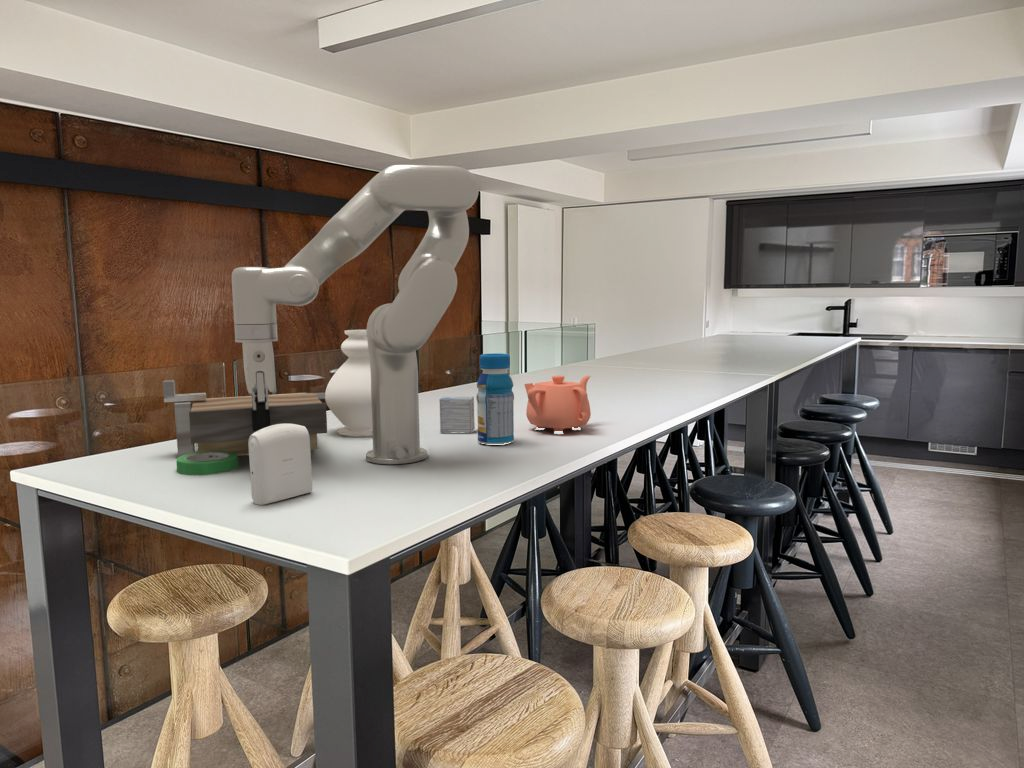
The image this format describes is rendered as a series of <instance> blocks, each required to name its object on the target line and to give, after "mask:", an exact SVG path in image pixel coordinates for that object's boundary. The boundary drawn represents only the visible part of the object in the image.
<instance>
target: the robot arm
mask: <svg viewBox="0 0 1024 768" xmlns="http://www.w3.org/2000/svg"><path fill="white" fill-rule="evenodd" d="M479 192H480V188H479V184H478V181H477V179H476V177H475V176H474V174H473V173H472V172H471V171H470V170H468V169H466V168H464V167H460V166H457V165H430V164H429V165H428V164H427V165H426V164H425V165H424V164H393V165H389V166H387V167H386V168H383V170H381V171H380V172H378V173H376V175H374V176H373V177H372V178H371V179H370V180H369V181H368V182H367V183H366V184H365V185H364V186H363V187H362V188H361V189H360V190H359V191H358V192H357V193H356V194H355V195H354V196H353V197H352V198H351V199H349V201H348V202H347V203H346V204H345V205H343V207H341V208H340V210H339V211H338V212H337V213H335V214H334V215H333V216H332V217H331V218H330V219H329V220H328V221H327V223H325V224H324V225H323V226H322V228H321V229H320V230H319V231H318V233H317V234H316V235H315V236H314V237H313V238H312V239H311V240H310V241H309V242H308V243H307V244H305V246H304V247H303V248H301V249H300V250H299V252H297V254H295V256H294V257H292V258H291V259H290V260H289V261H288V262H287V263H286V264H285V265H284V266H283V267H273V268H272V267H271V268H269V267H264V266H240V267H235V268H234V269H233V271H232V272H231V290H232V292H231V293H232V304H233V305H232V309H233V322H234V325H233V327H234V342H235V343H242V345H241V346H242V359H243V372H244V379H245V384H246V390H247V392H248V395H249V396H252V408H253V409H252V410H251V413H252V429H253V431H258V430H261V429H263V428H265V427H268V426H271V425H270V409H269V408H268V395H269V392H270V393H271V395H276V393H277V385H276V382H277V381H276V368H275V367H276V366H275V355H274V354H275V353H274V347H273V342H278V339H279V338H278V337H279V336H278V322H277V319H278V317H277V305H286V306H294V307H302V306H306V305H308V304H310V303H312V302H313V301H314V300H315V299H316V298H317V296H318V294H319V291H320V290H319V289H320V286H321V285H322V284H324V282H326V280H328V279H329V277H331V276H332V274H334V273H335V272H336V271H338V269H340V268H341V267H342V266H344V265H345V264H347V263H348V262H350V261H352V260H353V259H355V258H357V257H358V256H359V255H361V254H362V253H363V252H364V251H365V250H366V249H367V248H369V246H370V245H371V244H372V243H373V242H374V241H375V240H376V239H377V238H378V237H379V236H380V235H381V234H382V233H383V232H384V231H385V230H386V229H387V228H388V227H389V226H390V225H391V224H392V223H393V222H394V221H395V220H396V219H398V217H399V216H400V215H401V214H402V213H404V211H424V212H427V215H428V221H429V222H428V227H427V229H426V232H425V235H424V236H423V238H422V239H421V242H420V243H419V244H418V245H417V248H416V249H415V251H414V252H413V254H412V255H411V257H410V258H409V260H408V261H407V263H406V264H405V266H404V267H403V268H402V270H401V271H400V274H399V277H398V280H397V286H398V287H397V288H398V293H397V294H396V296H395V298H394V300H393V301H392V302H391V303H385V304H381V305H380V306H378V307H376V308H375V309H374V310H373V311H372V313H371V314H370V315H369V318H368V321H367V324H366V330H367V342H368V350H369V358H370V373H371V404H372V433H373V436H372V449H371V450H368V451H367V452H366V453H365V460H366V461H367V462H370V463H373V464H379V465H399V464H409V463H416V462H419V461H420V462H421V461H423V460H425V459H426V458H428V456H429V455H428V450H427V449H426V448H423V447H421V444H420V443H421V440H420V407H419V406H420V403H419V400H420V399H419V398H420V397H419V370H418V367H419V366H418V358H417V352H416V351H418V350H419V349H420V348H421V347H423V345H425V343H426V342H427V341H428V340H429V338H430V337H431V335H432V334H433V332H434V330H435V329H436V327H437V325H438V324H439V322H440V321H441V319H442V317H443V316H444V314H445V313H446V312H447V309H448V308H449V306H450V305H451V303H452V301H453V299H454V298H455V294H456V292H457V288H458V276H457V272H456V270H455V268H456V267H457V265H458V263H459V261H460V259H461V257H462V255H463V254H464V252H465V249H466V247H467V245H468V243H469V235H470V225H469V219H468V218H469V217H468V213H467V210H469V209H471V207H473V205H474V204H475V203H476V201H477V199H478V198H479V197H478V196H479ZM268 391H269V392H268Z"/></svg>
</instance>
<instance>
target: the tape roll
mask: <svg viewBox="0 0 1024 768" xmlns="http://www.w3.org/2000/svg"><path fill="white" fill-rule="evenodd" d="M238 457H239V456H238V455H237V454H236V453H234V452H230V451H204V452H198V451H197V452H196V451H195V453H190V454H186V455H182V456H180V457H178V456H177V457H176V472H177V473H178V474H180V475H185V476H206V475H214V474H219V473H225V472H229V471H233V470H235V469H237V468H238V467H239V458H238Z"/></svg>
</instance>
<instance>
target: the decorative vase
mask: <svg viewBox="0 0 1024 768" xmlns="http://www.w3.org/2000/svg"><path fill="white" fill-rule="evenodd" d="M343 332H344V335H347V336H348V337H347V338H346V339H344V341H343V342H342V343H341V345H340V350H341V352H342V353H343V354H344V355H345V356H347V357H348V358H347V359H346V360H345V362H343V363H342V365H341V366H339V368H338V369H337V370H336V371H335V373H333V375H332V377H331V379H330V380H329V382H328V383H327V385H326V389H325V393H324V399H325V403H326V407H328V409H329V410H330V412H331V413H332V414H333V415H334V416H335V418H337V420H338V421H339V422H340V423H341V424H342V425H343V426H344V427H341V428H339V429H338V430H337V434H338V435H340V436H343V437H351V438H352V437H353V438H354V437H355V438H359V437H360V438H361V437H362V438H363V437H373V433H372V404H371V373H370V358H369V350H368V342H367V329H347V330H344V331H343Z"/></svg>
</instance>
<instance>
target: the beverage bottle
mask: <svg viewBox="0 0 1024 768" xmlns="http://www.w3.org/2000/svg"><path fill="white" fill-rule="evenodd" d="M510 367H511V357H510V354H508V353H501V352H500V353H498V352H497V353H482V354H480V355H479V369H480V370H481V371H482V372H481V374H479V377H478V379H477V383H476V387H477V392H476V397H475V398H476V405H477V406H476V407H477V409H476V411H477V413H476V414H477V442H478V443H479V442H480V443H484V444H504V443H509V442H512V441H513V442H514V440H515V435H514V433H515V432H514V430H515V429H514V425H515V424H514V422H515V421H514V401H515V394H514V392H513V387H514V382H513V379H512V376H511V375H510V374H509V372H508V370H510ZM513 442H512V443H513ZM480 443H479V444H480Z"/></svg>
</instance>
